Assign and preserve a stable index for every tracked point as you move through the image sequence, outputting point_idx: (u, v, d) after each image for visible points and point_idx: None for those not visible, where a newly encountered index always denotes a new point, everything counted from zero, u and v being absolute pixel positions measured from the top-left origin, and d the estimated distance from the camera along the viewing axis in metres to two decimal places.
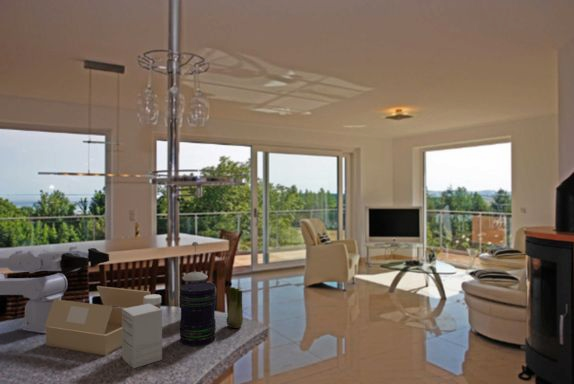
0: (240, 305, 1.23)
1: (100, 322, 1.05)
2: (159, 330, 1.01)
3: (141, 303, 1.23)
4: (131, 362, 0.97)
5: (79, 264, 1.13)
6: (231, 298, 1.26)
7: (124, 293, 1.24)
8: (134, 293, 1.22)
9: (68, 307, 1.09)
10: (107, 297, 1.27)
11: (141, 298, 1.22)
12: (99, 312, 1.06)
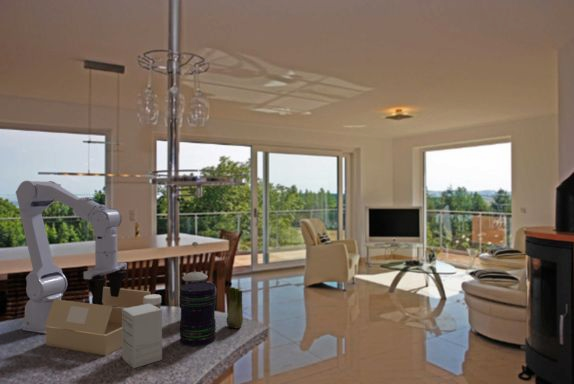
0: (240, 305, 1.23)
1: (100, 322, 1.05)
2: (159, 330, 1.01)
3: (141, 303, 1.23)
4: (131, 362, 0.97)
5: (95, 294, 1.14)
6: (231, 298, 1.26)
7: (124, 293, 1.24)
8: (134, 293, 1.22)
9: (68, 307, 1.09)
10: (107, 297, 1.27)
11: (141, 298, 1.22)
12: (99, 312, 1.06)
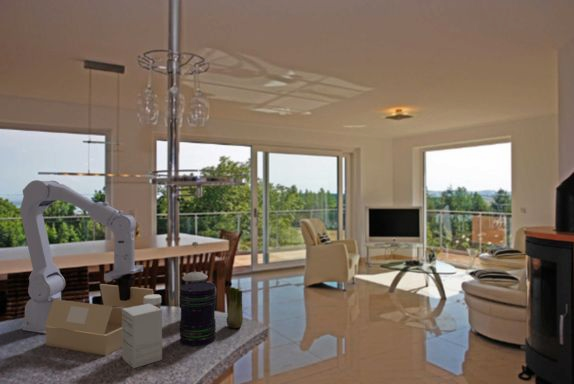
0: (240, 305, 1.23)
1: (100, 322, 1.05)
2: (159, 330, 1.01)
3: (142, 302, 1.24)
4: (131, 362, 0.97)
5: None
6: (231, 298, 1.26)
7: None
8: (136, 291, 1.23)
9: (68, 307, 1.09)
10: (108, 296, 1.28)
11: (143, 296, 1.23)
12: (99, 312, 1.06)
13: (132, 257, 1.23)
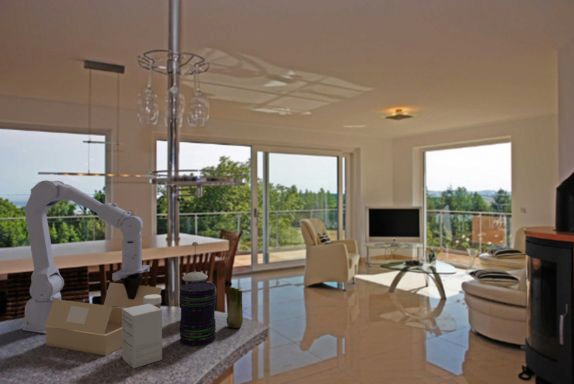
0: (240, 305, 1.23)
1: (100, 322, 1.05)
2: (159, 330, 1.01)
3: None
4: (131, 362, 0.97)
5: (129, 291, 1.27)
6: (231, 298, 1.26)
7: None
8: (145, 289, 1.27)
9: (68, 307, 1.09)
10: (113, 295, 1.29)
11: None
12: (99, 312, 1.06)
13: (139, 257, 1.26)
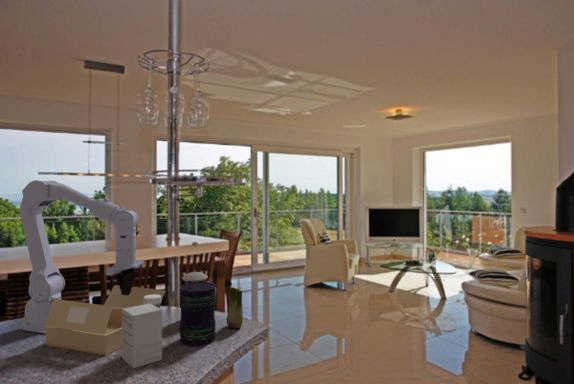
0: (240, 305, 1.23)
1: (100, 322, 1.05)
2: (159, 330, 1.01)
3: None
4: (131, 362, 0.97)
5: (122, 287, 1.24)
6: (231, 298, 1.26)
7: (138, 291, 1.29)
8: (148, 291, 1.29)
9: (68, 307, 1.09)
10: (115, 296, 1.30)
11: None
12: (99, 312, 1.06)
13: (134, 252, 1.24)
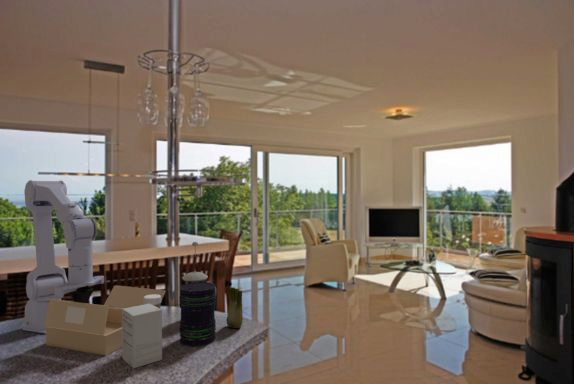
0: (240, 305, 1.23)
1: (98, 322, 1.04)
2: (159, 330, 1.01)
3: None
4: (131, 362, 0.97)
5: None
6: (231, 298, 1.26)
7: (138, 291, 1.30)
8: (148, 291, 1.29)
9: (65, 307, 1.08)
10: (115, 296, 1.30)
11: None
12: (96, 312, 1.05)
13: (89, 267, 1.08)
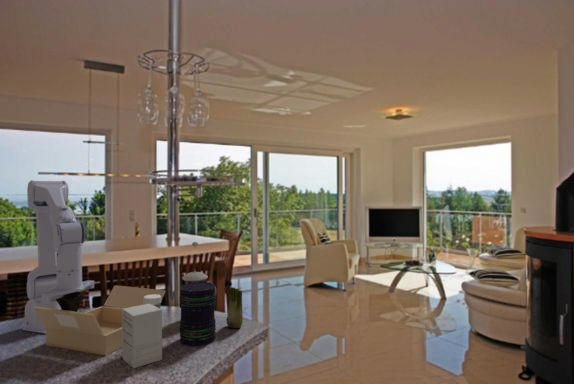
0: (240, 305, 1.23)
1: (93, 327, 1.02)
2: (159, 330, 1.01)
3: None
4: (131, 362, 0.97)
5: None
6: (231, 298, 1.26)
7: (138, 291, 1.30)
8: (148, 291, 1.29)
9: (53, 314, 1.05)
10: (115, 296, 1.30)
11: None
12: (85, 320, 1.02)
13: (78, 273, 1.04)
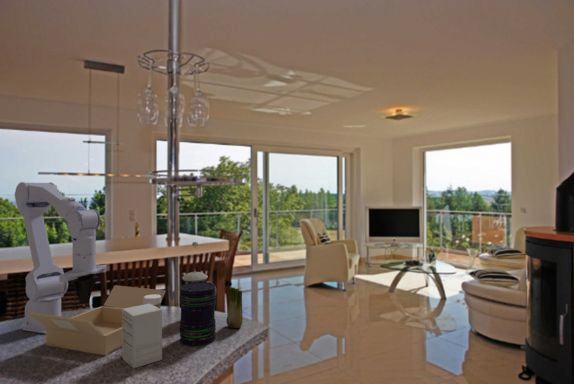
0: (240, 305, 1.23)
1: (91, 330, 1.02)
2: (159, 330, 1.01)
3: None
4: (131, 362, 0.97)
5: (80, 294, 1.13)
6: (231, 298, 1.26)
7: (138, 291, 1.30)
8: (148, 291, 1.29)
9: (49, 319, 1.04)
10: (115, 296, 1.30)
11: None
12: (82, 324, 1.01)
13: (92, 256, 1.12)
